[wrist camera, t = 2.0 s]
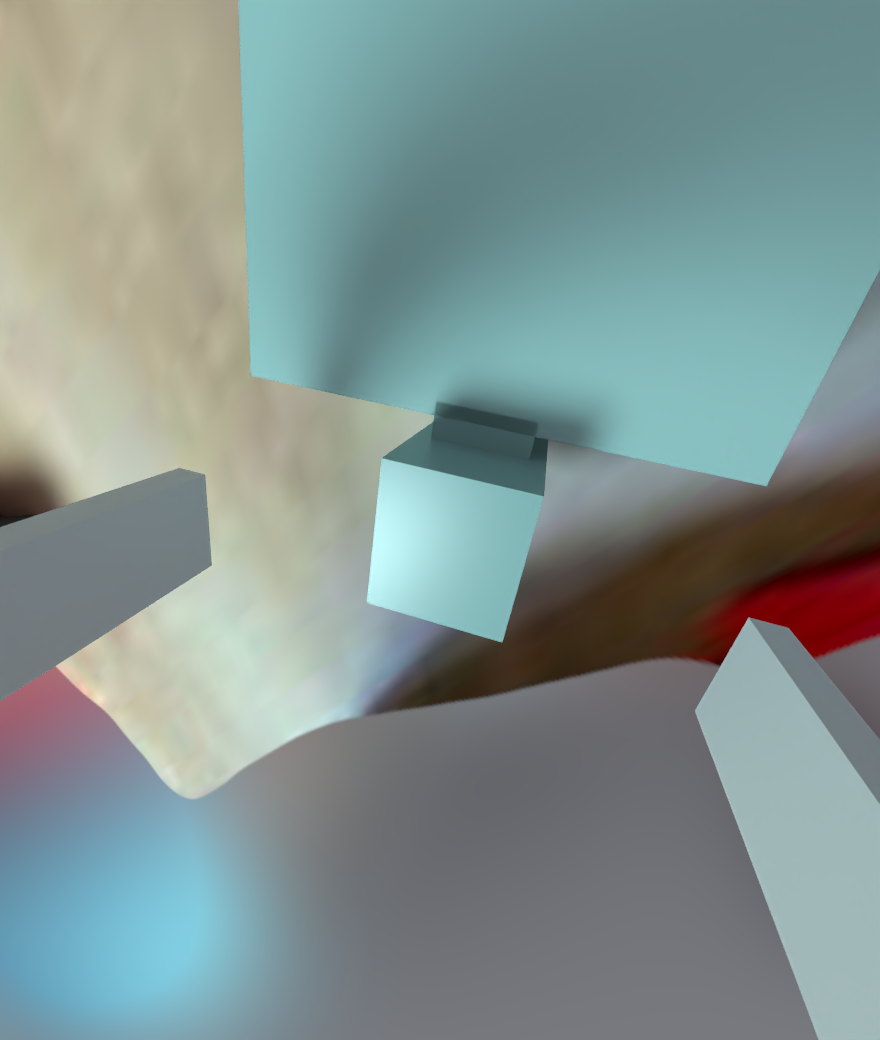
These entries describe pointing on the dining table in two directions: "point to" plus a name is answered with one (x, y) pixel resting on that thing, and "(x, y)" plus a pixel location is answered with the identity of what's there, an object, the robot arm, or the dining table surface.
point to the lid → (554, 244)
